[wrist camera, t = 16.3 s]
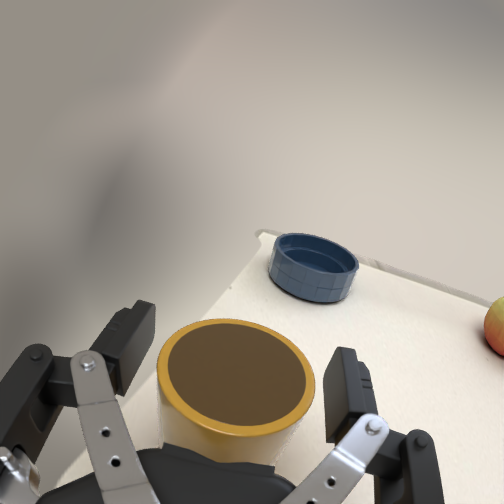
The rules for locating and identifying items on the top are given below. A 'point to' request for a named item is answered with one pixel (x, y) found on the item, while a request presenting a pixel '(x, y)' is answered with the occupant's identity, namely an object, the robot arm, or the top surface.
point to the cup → (232, 391)
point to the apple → (495, 326)
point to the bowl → (312, 267)
